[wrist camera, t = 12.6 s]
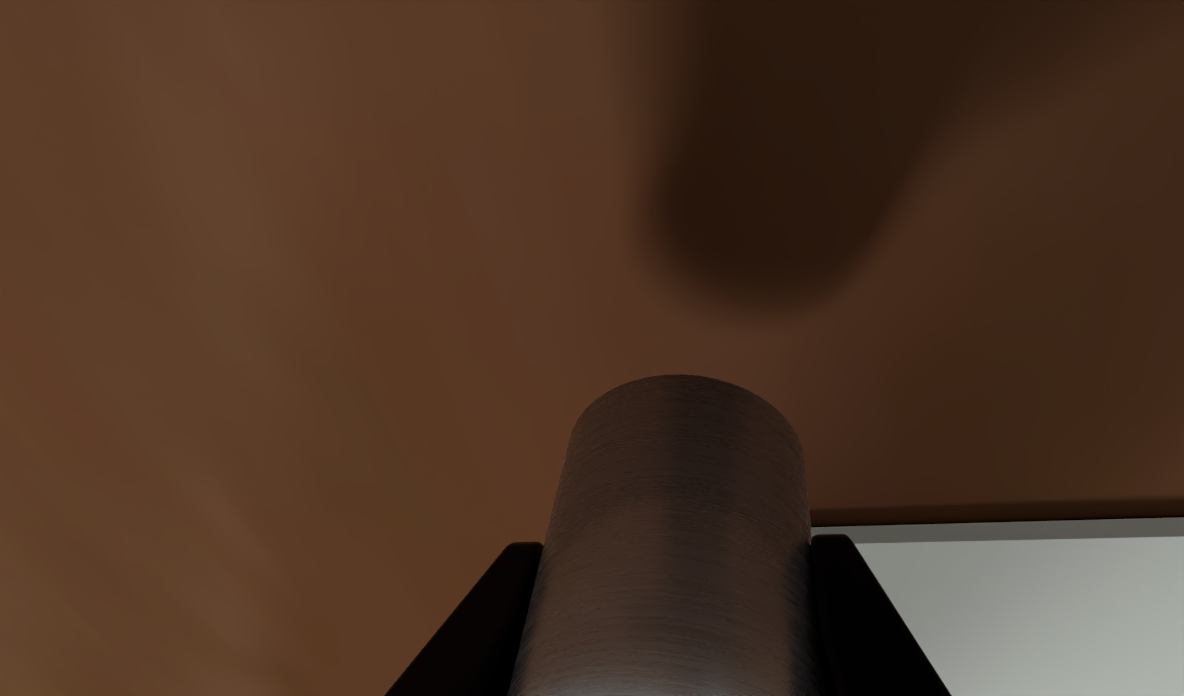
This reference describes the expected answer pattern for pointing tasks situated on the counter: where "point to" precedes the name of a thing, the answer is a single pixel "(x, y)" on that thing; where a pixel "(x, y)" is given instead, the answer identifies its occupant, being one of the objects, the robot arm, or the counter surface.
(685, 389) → the pin
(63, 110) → the counter surface
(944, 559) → the board
